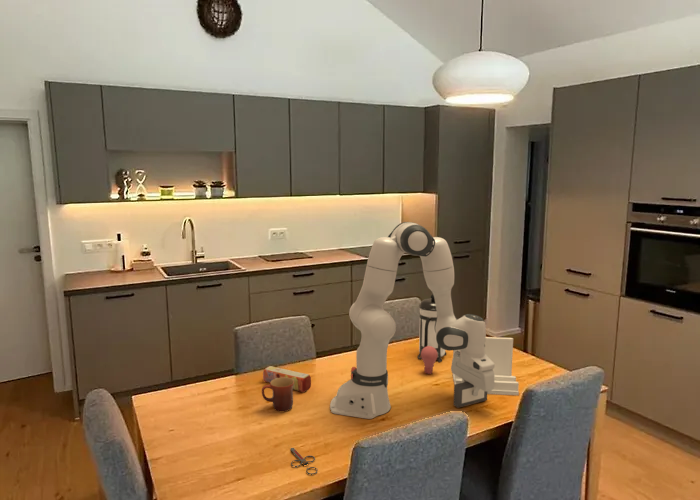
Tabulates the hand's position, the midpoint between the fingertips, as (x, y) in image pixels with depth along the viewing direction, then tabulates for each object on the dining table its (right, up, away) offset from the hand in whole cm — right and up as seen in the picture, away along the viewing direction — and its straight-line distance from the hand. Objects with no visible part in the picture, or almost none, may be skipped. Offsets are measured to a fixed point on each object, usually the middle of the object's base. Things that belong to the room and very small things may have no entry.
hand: (470, 393), depth 191 cm
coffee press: (-7, +3, +47) cm, 47 cm away
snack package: (-71, -2, +18) cm, 73 cm away
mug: (-72, -5, -2) cm, 72 cm away
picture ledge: (+9, -2, +17) cm, 19 cm away
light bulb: (-11, 0, +29) cm, 31 cm away
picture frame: (0, -4, +1) cm, 4 cm away
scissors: (-60, -11, -35) cm, 71 cm away
